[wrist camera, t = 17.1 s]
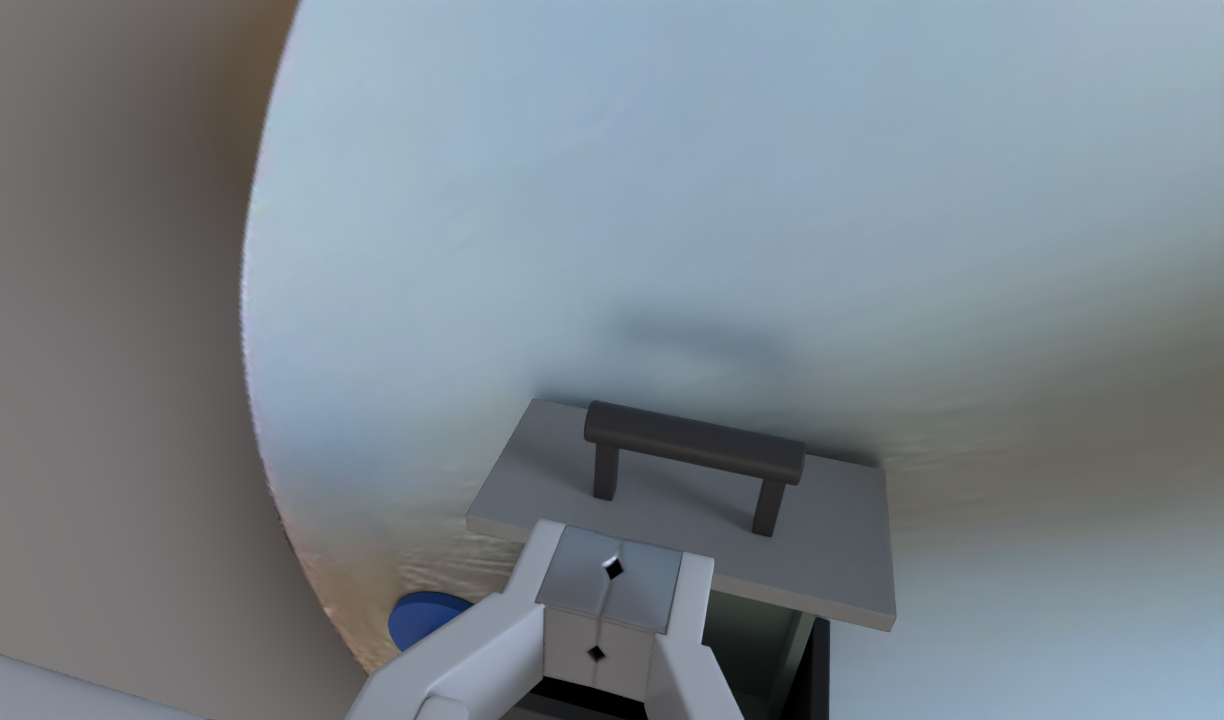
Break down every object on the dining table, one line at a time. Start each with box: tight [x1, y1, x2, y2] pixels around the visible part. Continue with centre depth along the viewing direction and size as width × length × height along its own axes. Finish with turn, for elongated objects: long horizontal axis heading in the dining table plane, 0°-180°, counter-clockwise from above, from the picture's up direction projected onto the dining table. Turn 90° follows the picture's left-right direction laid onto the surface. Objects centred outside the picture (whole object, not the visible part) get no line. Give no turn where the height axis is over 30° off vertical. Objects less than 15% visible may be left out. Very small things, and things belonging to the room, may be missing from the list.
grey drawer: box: [466, 399, 897, 720], centre depth 30 cm, size 20×14×7 cm
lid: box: [388, 592, 473, 652], centre depth 41 cm, size 8×8×5 cm
